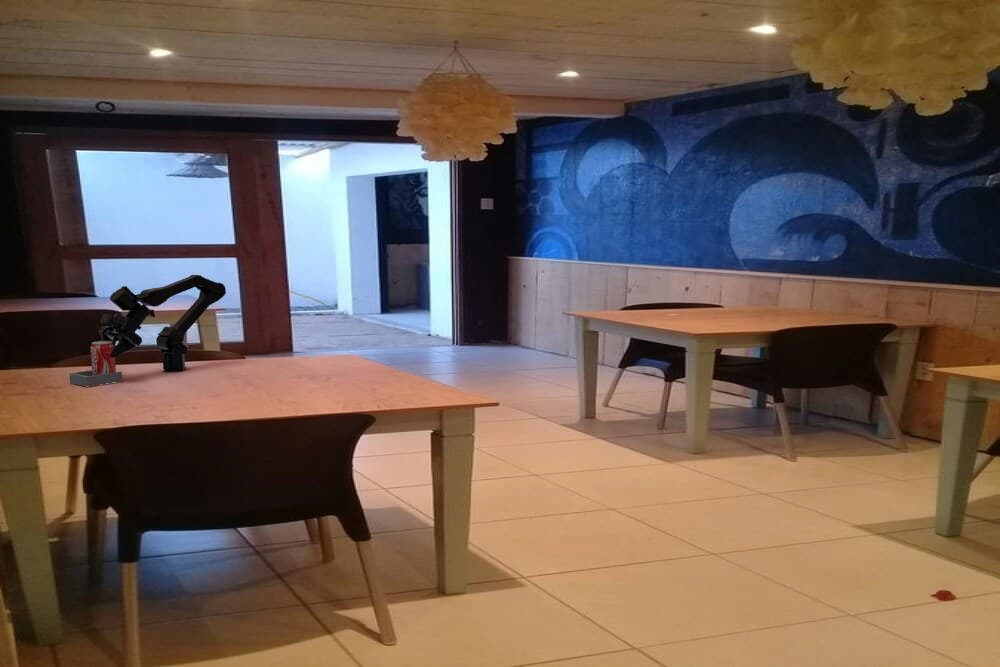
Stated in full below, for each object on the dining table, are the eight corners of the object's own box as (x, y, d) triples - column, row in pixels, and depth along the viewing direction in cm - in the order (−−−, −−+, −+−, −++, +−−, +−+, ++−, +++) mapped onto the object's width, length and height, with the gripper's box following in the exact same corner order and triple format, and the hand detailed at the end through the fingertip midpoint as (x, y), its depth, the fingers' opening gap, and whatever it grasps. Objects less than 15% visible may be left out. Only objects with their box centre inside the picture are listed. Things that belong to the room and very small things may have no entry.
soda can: (111, 377, 264) (109, 340, 262) (119, 380, 259) (117, 342, 257) (89, 380, 259) (86, 342, 257) (97, 383, 254) (94, 344, 252)
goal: (105, 377, 265) (104, 368, 265) (122, 381, 258) (121, 371, 258) (70, 383, 256) (69, 373, 256) (87, 387, 249) (86, 377, 249)
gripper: (102, 303, 266) (71, 338, 259) (130, 306, 255) (99, 343, 248) (126, 323, 273) (97, 358, 266) (154, 327, 262) (125, 363, 255)
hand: (104, 355), depth 259 cm, fingers open, 9 cm apart
